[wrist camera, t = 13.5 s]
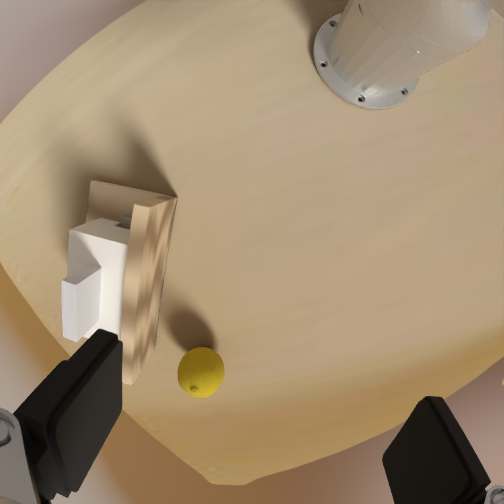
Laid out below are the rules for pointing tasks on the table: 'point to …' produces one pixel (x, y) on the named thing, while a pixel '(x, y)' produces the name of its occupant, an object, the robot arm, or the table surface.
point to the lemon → (200, 372)
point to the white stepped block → (94, 279)
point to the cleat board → (137, 262)
